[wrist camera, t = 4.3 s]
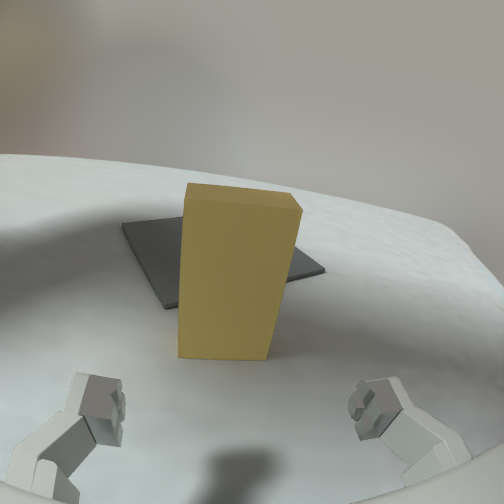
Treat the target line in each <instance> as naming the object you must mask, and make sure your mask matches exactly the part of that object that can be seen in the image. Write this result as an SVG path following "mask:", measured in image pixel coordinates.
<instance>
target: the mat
mask: <svg viewBox="0 0 504 504" xmlns="http://www.w3.org/2000/svg"><path fill="white" fill-rule="evenodd" d="M182 226H183V217H176V218H167V219H157V220H148V221H139V222H130V223H122V228H123V230H124V232H125V235H126V237H127V239H128V241H129V243H130V245H131V247H132V249H133V251H134V252H135V254H136V256H137V258H138V260H139V262H140V264H141V266H142V268H143V270H144V272H145V274H146V275H147V277H148V279H149V281H150V283H151V285H152V287H153V288H154V290H155V292H156V294H157V296H158V297H159V299H160V301H161V303H162V305H163V306H164V308H165V309H168V308H172V307H177V306H179V283H180V260H181V242H182ZM324 270H325V268H324V267H322V266H321V265H320V264H318V263H317V262H315V261H314V260H313V259H311V258H310V257H309V256H307V255H306V254H305V253H303V252H302V251H300V250H299V249H298V248H296V247H294V251H293V255H292V259H291V264H290V268H289V272H288V276H287V280H286V281H291V280H295V279H299V278H303V277H307V276H311V275H315V274H319V273H323V272H324Z"/></svg>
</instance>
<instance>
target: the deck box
mask: <svg viewBox="0 0 504 504" xmlns="http://www.w3.org/2000/svg"><path fill="white" fill-rule="evenodd" d="M302 211H303V210H302V208H301V207H300V206H299V204H298V203H297V202H296V200H295V199H294V198H293V196H292V195H291V194H290V193H284V192H276V191H268V190H259V189H250V188H240V187H230V186H220V185H209V184H197V183H188V184H187V189H186V194H185V199H184V212H183V226H182V242H181V260H180V283H179V317H178V358H192V359H215V360H266V359H267V355H268V351H269V347H270V343H271V340H272V336H273V332H274V328H275V324H276V320H277V316H278V312H279V309H280V305H281V301H282V297H283V292H284V288H285V284H286V280H287V276H288V272H289V268H290V264H291V259H292V255H293V251H294V247H295V242H296V238H297V234H298V229H299V225H300V220H301V216H302Z"/></svg>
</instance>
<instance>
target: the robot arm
mask: <svg viewBox="0 0 504 504" xmlns="http://www.w3.org/2000/svg"><path fill="white" fill-rule="evenodd" d="M356 387H357V391H356V392H354V393H353V394H352V395H351V397H350V399H349V403H348V410H349V414H350V416H351V418H352V419H354V420H355V421H356V424H355V429H356V432H357V434H358V437H359V439H360V441H362V440H368V439H373V438H379V437H380V438H379V439H380V440H381V441H382V442H383V443H384V444H385V445H386V446H388V447H389V448H390V449H391V450H392V451H393V452H394V453H395V454H396V455H397V456H398V457H400V458H401V459H402V460H403V461H404V462H405V463H406V464H407V465H408V466H410V468H408V469H407V470H406V471H405V472H404V473H403V474H402V476H401V478H402V480H403V483H404V486H405V487H404V488H401V489H398V490H395V491H392V492H389V493H386V494H383V495H380V496H376V497H373V498H369V499H366V500H362V501H358V502H354V503H350V504H504V441H503V442H502V443H500V444H498V445H497V446H495V447H493V448H491V449H489V450H488V451H486V452H484V453H482V454H480V455H478V456H476V457H474V458H472V457H471V455H470V453H469V451H468V449H467V448H466V446H465V444H464V442H463V440H462V438H461V436H460V435H459V434H458V433H456V432H455V431H453V430H452V429H450V428H449V427H447V426H446V425H444V424H443V423H441V422H440V421H438V420H437V419H435V418H434V417H432V416H431V415H429V414H428V413H426V412H425V411H423V410H422V409H420V408H419V407H415V406H414V405H413V403H412V401H411V399H410V397H409V395H408V394H407V392H406V390H405V388H404V386H403V385H402V383H401V381H400V379H399V378H398V377H397V376H392V377H385V378H376V379H368V380H362V381H360V382H359V383H358V385H357V386H356ZM121 391H122V382H121V379H114V378H108V377H102V376H96V375H90V374H84V373H78V372H77V373H76V374H75V375H74V377H73V380H72V383H71V387H70V390H69V393H68V397H67V400H66V403H65V407H64V410H63V412H61V411H59V412H57V413H56V414H55V415H54V416H53V417H51V418H50V419H49V420H48V421H47V422H45V423H44V424H43V425H42V426H41V427H39V428H38V429H37V430H36V431H35V432H33V433H32V434H31V435H30V436H29V437H27V438H26V439H25V440H24V441H22V442H21V443H20V444H19V445H18V446H16V447H15V448H14V450H13V453H12V457H11V461H10V464H9V468H8V472H7V476H6V480H5V482H2V481H0V504H79V496H80V492H79V491H78V489H77V488H76V487H75V486H74V485H73V484H72V483H71V481H70V480H69V479H68V478H69V476H70V475H71V474H72V473H73V472H74V471H75V470H76V468H77V467H78V466H79V465H80V464H81V463H82V462H83V460H84V459H85V458H86V457H87V456H88V455H89V454H90V452H91V451H92V450H93V449H94V448H95V447H96V446H97V445H96V444H100V445H107V446H115V447H121V441H122V434H123V429H122V426H121V422H122V421H124V419H125V407H126V403H125V395H124V393H123V392H121Z"/></svg>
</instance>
